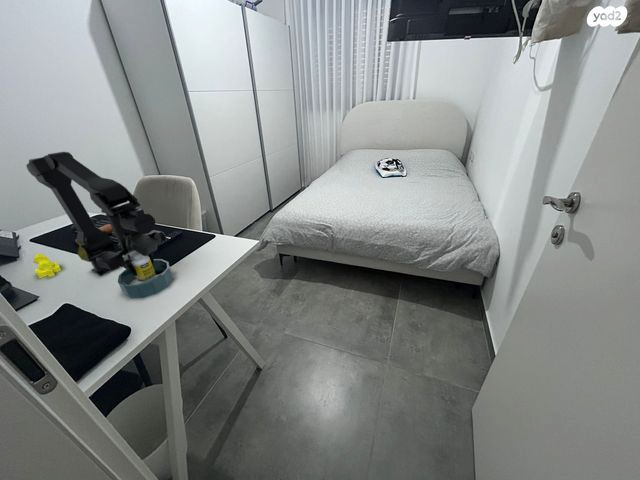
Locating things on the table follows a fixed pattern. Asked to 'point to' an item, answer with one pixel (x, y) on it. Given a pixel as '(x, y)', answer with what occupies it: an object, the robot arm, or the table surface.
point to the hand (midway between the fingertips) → (143, 270)
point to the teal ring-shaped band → (146, 287)
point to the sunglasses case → (105, 229)
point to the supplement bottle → (142, 267)
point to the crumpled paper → (45, 266)
